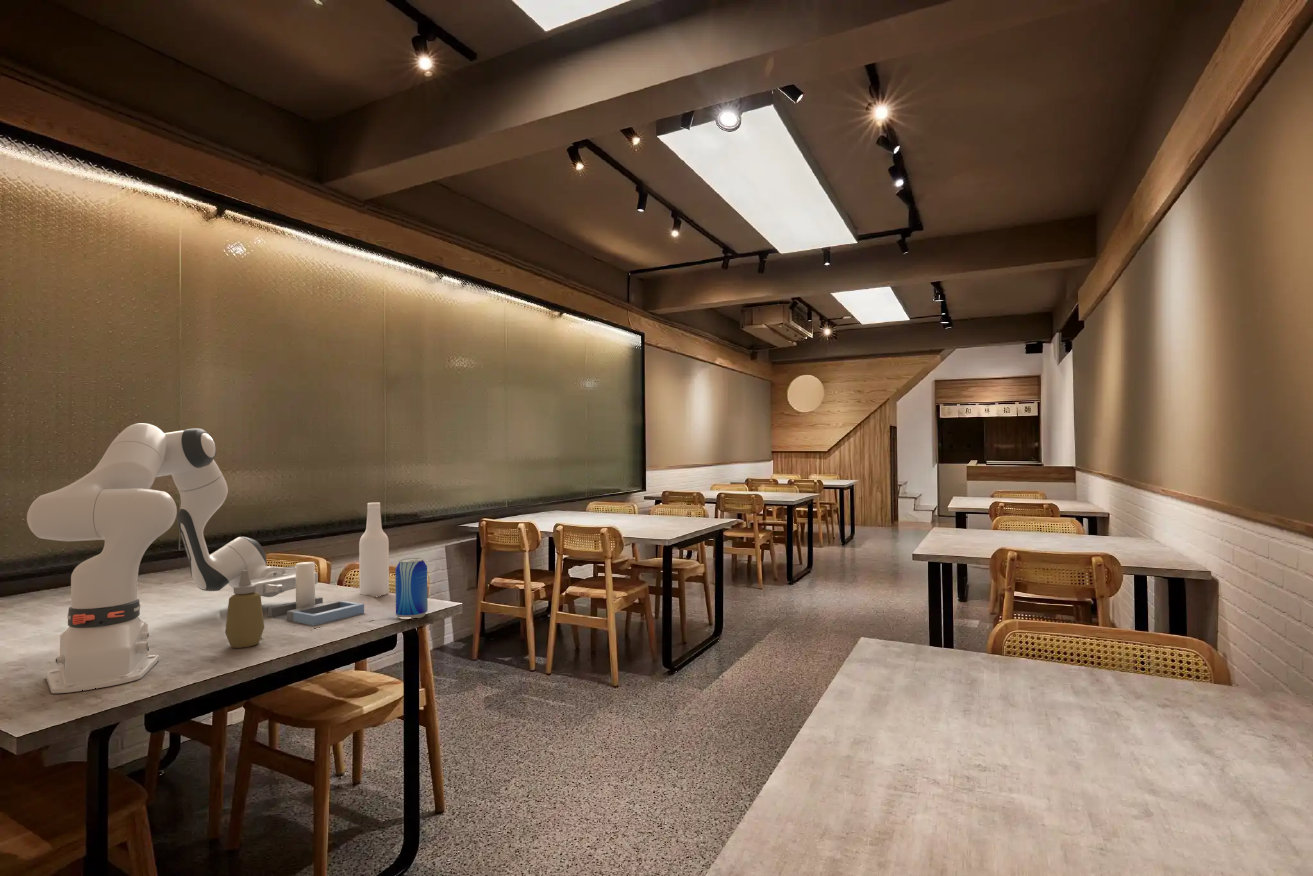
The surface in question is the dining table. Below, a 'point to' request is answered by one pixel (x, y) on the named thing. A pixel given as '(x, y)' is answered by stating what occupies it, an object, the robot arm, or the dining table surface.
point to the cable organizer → (316, 611)
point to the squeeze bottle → (244, 614)
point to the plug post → (305, 584)
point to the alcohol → (374, 555)
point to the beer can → (411, 588)
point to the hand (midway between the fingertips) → (296, 585)
